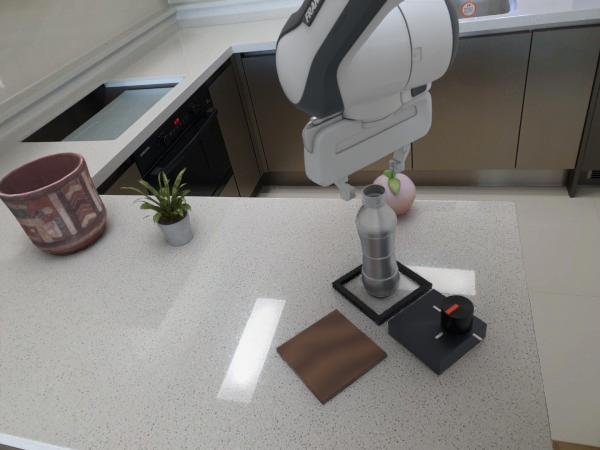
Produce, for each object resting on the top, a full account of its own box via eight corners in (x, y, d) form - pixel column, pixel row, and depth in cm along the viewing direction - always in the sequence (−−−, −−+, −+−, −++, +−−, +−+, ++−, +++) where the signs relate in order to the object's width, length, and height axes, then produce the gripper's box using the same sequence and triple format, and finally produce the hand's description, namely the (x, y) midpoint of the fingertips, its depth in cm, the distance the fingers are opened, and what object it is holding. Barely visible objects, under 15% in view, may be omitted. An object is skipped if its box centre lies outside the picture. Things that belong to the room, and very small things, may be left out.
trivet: (387, 356, 68) (387, 353, 67) (323, 405, 63) (322, 401, 63) (336, 311, 76) (336, 308, 76) (276, 351, 72) (275, 348, 71)
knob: (454, 306, 69) (455, 288, 67) (479, 323, 66) (481, 305, 64) (434, 322, 68) (434, 304, 65) (458, 339, 64) (459, 321, 62)
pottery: (99, 259, 99) (60, 189, 88) (24, 268, 101) (-23, 200, 90) (126, 212, 113) (95, 146, 102) (59, 220, 115) (22, 157, 104)
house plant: (138, 269, 94) (106, 203, 84) (146, 230, 105) (118, 168, 95) (207, 254, 94) (183, 187, 85) (207, 216, 106) (186, 153, 96)
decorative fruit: (423, 220, 92) (423, 177, 86) (385, 230, 91) (382, 188, 85) (404, 196, 100) (403, 156, 94) (368, 206, 99) (365, 165, 93)
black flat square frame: (432, 288, 77) (432, 283, 76) (379, 326, 72) (378, 321, 72) (382, 255, 86) (382, 250, 85) (332, 287, 81) (331, 282, 80)
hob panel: (499, 337, 67) (501, 323, 65) (446, 382, 63) (446, 368, 61) (438, 297, 75) (439, 283, 73) (388, 333, 71) (387, 320, 69)
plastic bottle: (398, 273, 81) (394, 176, 69) (401, 301, 76) (398, 201, 64) (361, 275, 82) (351, 180, 70) (362, 303, 77) (351, 205, 65)
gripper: (316, 129, 52) (330, 225, 60) (440, 72, 60) (438, 164, 68) (286, 115, 57) (303, 206, 65) (405, 64, 65) (407, 151, 73)
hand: (373, 184), depth 67 cm, fingers open, 8 cm apart
